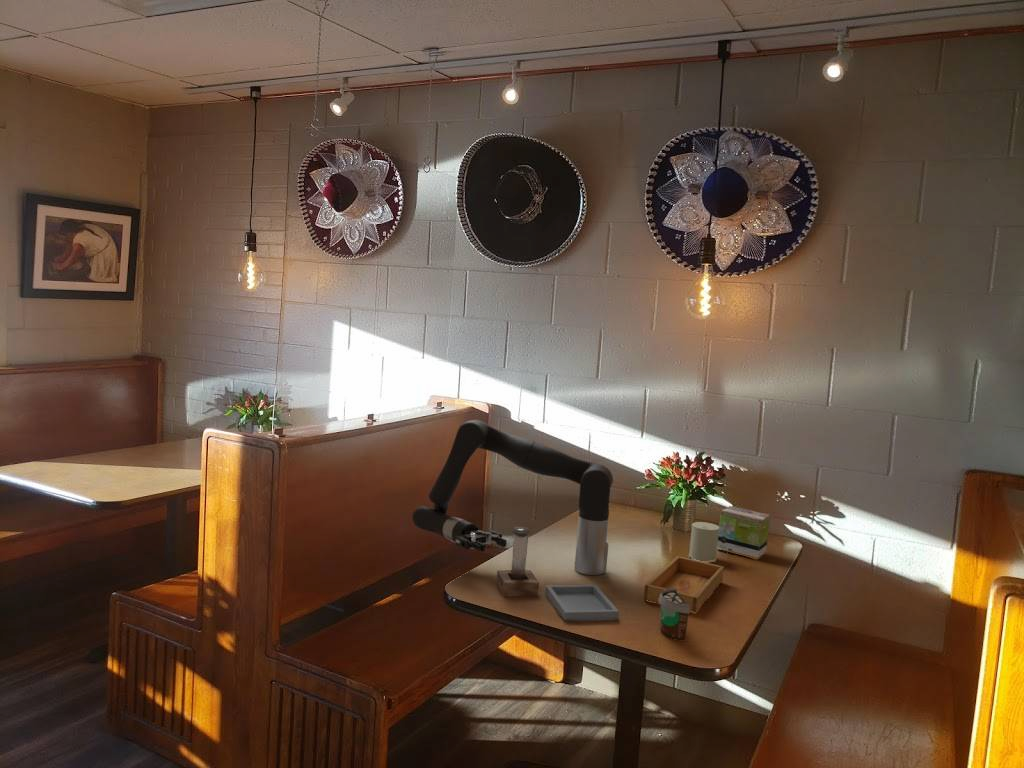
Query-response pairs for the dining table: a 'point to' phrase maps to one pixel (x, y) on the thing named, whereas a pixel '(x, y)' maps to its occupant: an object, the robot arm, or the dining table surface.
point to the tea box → (743, 531)
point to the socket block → (517, 584)
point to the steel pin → (519, 553)
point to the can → (704, 541)
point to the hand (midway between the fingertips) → (495, 546)
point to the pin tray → (581, 603)
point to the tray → (686, 581)
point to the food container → (673, 614)
